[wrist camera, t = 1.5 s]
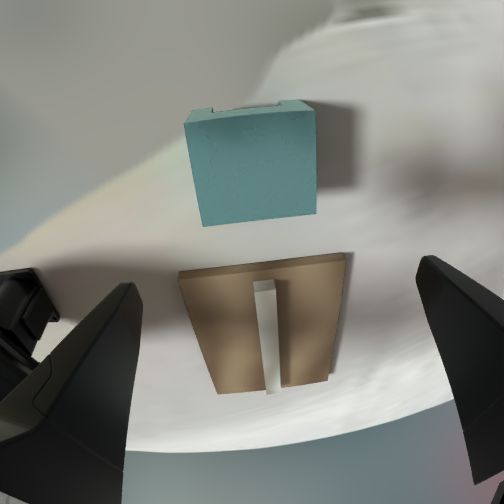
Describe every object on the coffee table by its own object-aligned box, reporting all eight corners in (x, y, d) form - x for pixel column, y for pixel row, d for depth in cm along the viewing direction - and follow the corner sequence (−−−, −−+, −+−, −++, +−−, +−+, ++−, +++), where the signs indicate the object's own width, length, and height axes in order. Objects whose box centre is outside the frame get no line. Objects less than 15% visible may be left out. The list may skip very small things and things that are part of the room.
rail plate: (217, 387, 35) (217, 402, 33) (178, 271, 24) (175, 290, 23) (325, 373, 35) (329, 389, 33) (342, 252, 24) (350, 269, 23)
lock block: (206, 196, 21) (202, 226, 18) (192, 110, 17) (183, 123, 14) (301, 185, 21) (316, 213, 18) (298, 99, 17) (315, 110, 14)
